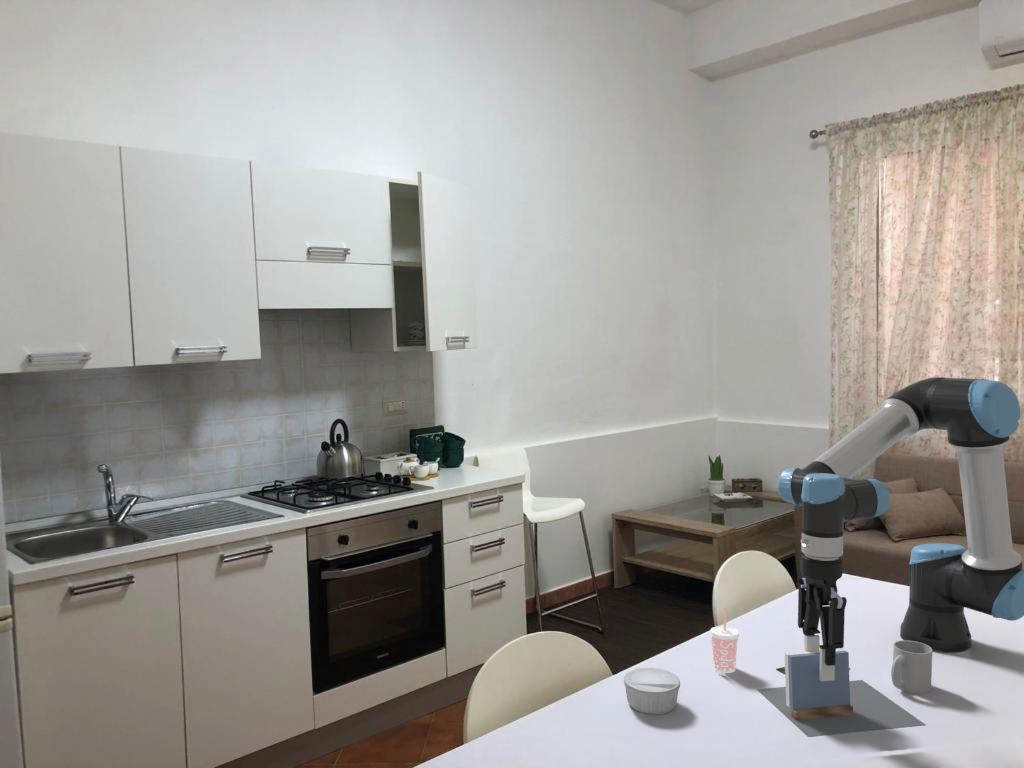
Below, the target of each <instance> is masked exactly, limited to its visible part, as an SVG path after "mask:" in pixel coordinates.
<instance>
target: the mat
mask: <svg viewBox="0 0 1024 768" xmlns="http://www.w3.org/2000/svg"><path fill="white" fill-rule="evenodd" d="M849 683H850V705H851V706H853V715H844V716H833V717H823V718H813V719H802V720H795V719H794V718H793V717H791V712H792V709H791V708H790V707H788V706H787V705H786V686H781V687H780V686H777V687H769V688H758V689H756V690H757V692H759V694H761V695H762V696H763V697H764V698H765V699H766V700H767V701H768V702H769V703H771V705H773V707H775V709H777V710H778V711H779V712H780V713H782V715H783V716H784V717H786V719H788V721H790V722H791V723H792V724H793V725H794V726H796V727H797V728H798V729H799V730H800V731H801V732H802V733H803V734H804V735H806V737H808V738H811V737H821V736H831V735H839V734H840V735H842V734H848V733H849V734H851V733H861V732H869V731H881V730H892V729H899V728H900V729H901V728H908V727H909V728H910V727H911V728H912V727H921V726H926V725H927V724H925V723H924V722H923V721H921V720H920V719H919V718H917V717H916V716H914V715H913V714H912V713H910V712H909V711H908V710H906V709H904V708H902V707H901V706H900V705H899V704H897V703H896V702H894V701H893V700H891V699H890V698H889V697H888V696H886V695H885V694H883V693H881V692H880V691H878V690H877V689H876V688H874V687H873V686H871V685H870V684H869V683H867V682H866V681H865V680H863V679H859V680H849Z"/></svg>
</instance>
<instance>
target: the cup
mask: <svg viewBox="0 0 1024 768" xmlns="http://www.w3.org/2000/svg"><path fill="white" fill-rule="evenodd" d="M892 652H893V654H892V666H891V671H890V672H891V675H890V676H891V681H892V686H894V687H895V688H896V689H898V690H900V691H903V692H906V693H910V694H919V695H921V694H922V695H923V694H929V693H930V692H931V690H932V679H933V678H932V674H933V673H932V672H933V670H932V669H933V650H932V648H931V647H930V646H928V645H926V644H923V643H920V642H916V641H908V640H903V639H902V640H896V641H894V642H893V651H892Z"/></svg>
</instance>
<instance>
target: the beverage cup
mask: <svg viewBox="0 0 1024 768" xmlns="http://www.w3.org/2000/svg"><path fill="white" fill-rule="evenodd" d="M710 635H711V643H712V644H711V646H712V665H713V669H712V670H713V672H714V673H715V674H717V675H720V676H727V674H730V673H734V672H735V671H736V663H737V653H738V652H737V651H738V641H739V640H738V638H739V637H740V631H739V630H738V629H736V628H735V627H731V626H727V608H726V607H725V608H723V625H720V626H718V625H717V626H714V627H711V628H710Z"/></svg>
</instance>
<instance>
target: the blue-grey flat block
mask: <svg viewBox="0 0 1024 768" xmlns="http://www.w3.org/2000/svg"><path fill="white" fill-rule="evenodd" d="M849 656H850V655H849V651H846V650H845V649H843V648H837V649H836V656H835V680H832V681H820V680H819V668H820V649H819V650H818V651H805V650H804V651H797V652H796V651H795V652H785V653H784V667H785V679H784V680H785V687H786V705H787V706H788V707H790V708H791V709H792V710H796V709H807V708H817V707H828V706H839V705H849V704H850V683H849V681H850V669H849V668H850V662H849V661H850V660H849V659H850V657H849Z"/></svg>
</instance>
